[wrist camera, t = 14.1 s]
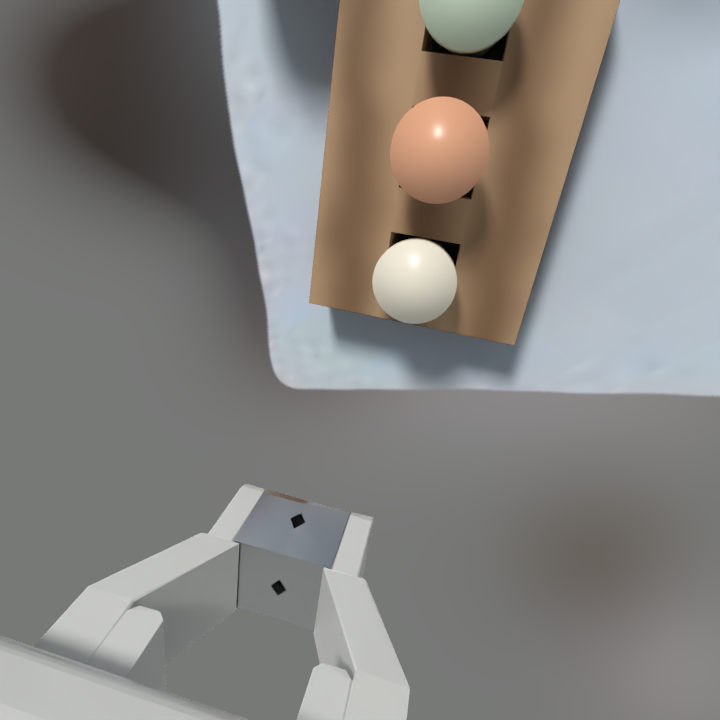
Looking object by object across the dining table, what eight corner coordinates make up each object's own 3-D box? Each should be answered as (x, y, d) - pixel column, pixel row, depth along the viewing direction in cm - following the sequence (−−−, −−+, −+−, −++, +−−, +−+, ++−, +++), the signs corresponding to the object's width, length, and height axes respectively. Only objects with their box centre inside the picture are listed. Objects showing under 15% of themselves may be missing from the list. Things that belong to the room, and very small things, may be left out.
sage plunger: (526, -24, 29) (543, -79, 23) (502, 78, 32) (511, 55, 25) (438, -33, 30) (430, -89, 23) (421, 67, 32) (409, 43, 26)
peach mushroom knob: (493, 116, 32) (501, 104, 25) (473, 201, 34) (475, 211, 27) (413, 105, 32) (399, 89, 26) (399, 189, 35) (382, 195, 28)
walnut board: (614, -34, 29) (641, -69, 24) (508, 324, 39) (514, 345, 34) (366, -58, 31) (349, -95, 27) (326, 287, 41) (309, 302, 37)
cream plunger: (466, 232, 36) (466, 249, 29) (450, 301, 38) (446, 331, 32) (395, 220, 37) (379, 233, 30) (384, 288, 39) (366, 314, 32)
